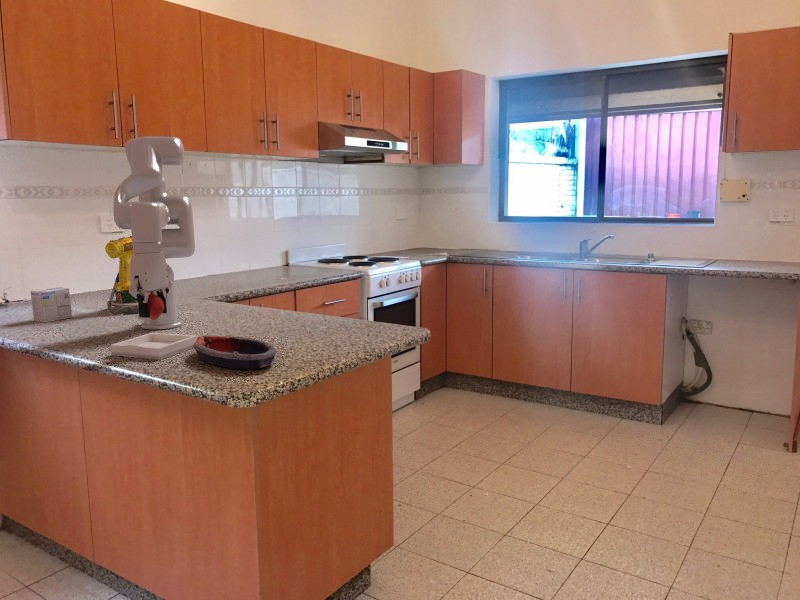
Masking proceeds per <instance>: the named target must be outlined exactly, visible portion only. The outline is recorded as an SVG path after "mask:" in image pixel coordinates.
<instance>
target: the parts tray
mask: <svg viewBox="0 0 800 600" xmlns="http://www.w3.org/2000/svg"><path fill="white" fill-rule="evenodd" d="M198 337H199V335H194V334H193V335H190V334H179V333H178V334H177V333H163V332H162V333H161V332H160V333H159V332H150V333H147V334H143V335H140V336H139V335H138V336H136V337H132V338H129V339H126V340H122V341H119V342H114V343H112V344H109V345H110V354H111V355H114V356H113V357H119V356H124V357H123V358H131V357H134V359H143V358H144V359H145V360H158V361H161V360H164V359H167V358H170V357H172V356H176V355H178V354H180V353H184V352H186V351H189V350H192V349H194V343H195V341H196V340H197V338H198Z"/></svg>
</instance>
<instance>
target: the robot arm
mask: <svg viewBox="0 0 800 600" xmlns="http://www.w3.org/2000/svg"><path fill="white" fill-rule="evenodd" d="M124 149H125V155H126V159H127V161H128V164H129V166H130V174H129V175H128V176H127V177H126V178H125V179H123V180H122V182H121V183H119V185H118V186H117V188H116V189H115V191H114V194H113V208H112V209H113V211H112V212H113V213H112V214H113V221H114V224H115V225H116V226H117V227H118V228H119V229H122V230H131V236H132V242H133V243H132V244H133V255H132V256H131V263H130V285H131V288H130V290H129V293H130V294H131V295H132V296H133V298H134V299H135V300H136V302H137V303H138V308H139V313H138V315H137V319H138V320H143V322H142V323H141V328H142V329H144V330H167V329H174V328H177V327H180V326H182V325H183V320H181V319H178V311H177V299H176V298H177V297H176V286H175V284H176V283H175V273H174V271H173V269H172V267H171V266H170V265H169V264H168V262H166V259H180V258H181V259H182V258H189V257H192V256H193V255H194V253H195V249H196V243H195V242H196V241H195V239H196V238H195V231H194V230H195V228H194V217H193V214H194V213H193V208H192V204H191V200H190V199H189V197H187V196H186V195H183V194H168V192H167V183H166V179H165V177H164V176H163V166H181V165H182V164H183V163H184V161H185V152H186V151H185V147H184V143H183V142H182V140H181V139H180V138H179V137H177V136H165V135H164V136H163V135H162V136H160V135H159V136H157V135H155V136H154V135H153V136H150V135H149V136H148V135H147V136H140V137H135V138H131V139H128V140H127V141H126V142H125V145H124ZM135 197H138V201H130V200H132V199H133V198H135ZM167 225H169V226H170V225H171V226H173V225H176V226H177V227H178V228H177V227H175V228H165V227H166V226H167ZM151 291H153V292H154V294H155V295H157V296H158V297H160V298H161V299H162V301H163V303H164V311H163V313H162V314H161V315H160V316H159V317H158V318H157V319H156V320H151V319H150V318H149V317H150V306H149V303H147V300H148V295H149V294H150V292H151ZM142 294H144V296H142Z"/></svg>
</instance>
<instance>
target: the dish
mask: <svg viewBox="0 0 800 600" xmlns="http://www.w3.org/2000/svg"><path fill="white" fill-rule="evenodd" d="M193 350H194V351H195V352H196V354H197V355H198V357H199V358H200V359H201V360H202V361H205V362H206V363H207V362H208V363H209V364H212V365H215V366H219V367H223V368H228V369H237V370H255V369H260V368H265V367H268V366H270V365H271V364H272V362H274V360H275V357H276V355H277V349H276V348H275V347H274V346H273V345H272V344H270V343H268V342H265V341H263V340H258V339H254V338H249V337H243V336H242V337H241V336H229V335H228V336H226V335H224V336H223V335H202V336H198V338H197V340H196V341H195V343H194V348H193Z"/></svg>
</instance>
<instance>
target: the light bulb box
mask: <svg viewBox="0 0 800 600" xmlns="http://www.w3.org/2000/svg"><path fill="white" fill-rule="evenodd" d="M70 292H71V291H70V288H69V287H59V286H58V287H52V288H45V289H39V290H38V289H36V290H30V298H31V299H30V301H31V305H32V306H31V308H32V316H33V321H34V322H37V323H43V324H44V323H49V322H54V321H59V320H65V319H71V318H73V311H72V303H71V293H70Z"/></svg>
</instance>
